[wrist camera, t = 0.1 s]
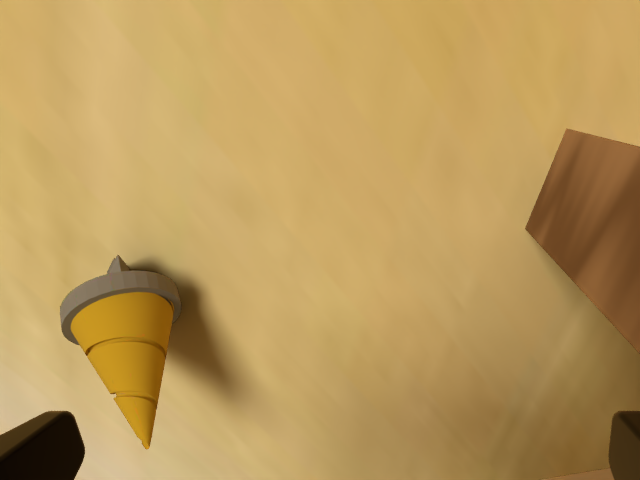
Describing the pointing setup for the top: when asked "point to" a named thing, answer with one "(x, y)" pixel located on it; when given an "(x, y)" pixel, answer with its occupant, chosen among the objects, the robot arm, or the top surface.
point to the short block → (587, 475)
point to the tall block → (595, 224)
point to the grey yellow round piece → (125, 336)
